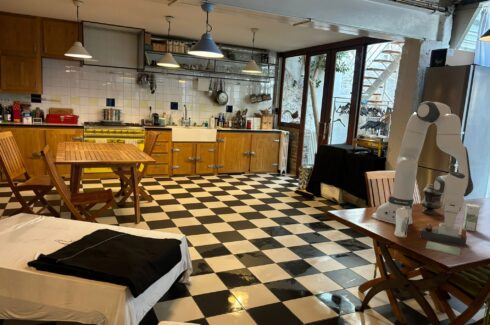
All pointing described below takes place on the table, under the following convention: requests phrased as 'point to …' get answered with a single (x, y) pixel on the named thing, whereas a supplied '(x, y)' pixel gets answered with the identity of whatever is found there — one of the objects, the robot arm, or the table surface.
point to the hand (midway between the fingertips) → (448, 231)
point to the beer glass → (402, 220)
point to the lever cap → (453, 232)
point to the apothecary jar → (431, 200)
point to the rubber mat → (443, 248)
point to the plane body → (443, 236)
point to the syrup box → (471, 217)
